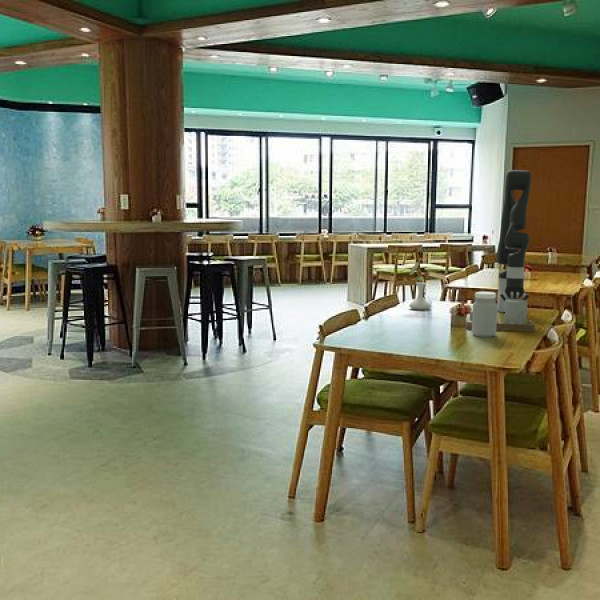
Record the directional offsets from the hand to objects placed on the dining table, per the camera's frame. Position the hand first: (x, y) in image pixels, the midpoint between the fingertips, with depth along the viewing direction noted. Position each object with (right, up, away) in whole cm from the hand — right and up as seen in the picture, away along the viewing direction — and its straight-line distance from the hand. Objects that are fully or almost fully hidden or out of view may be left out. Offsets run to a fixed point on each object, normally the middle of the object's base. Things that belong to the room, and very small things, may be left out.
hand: (513, 314), depth 295 cm
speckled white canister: (-2, -6, -7) cm, 10 cm away
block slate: (-14, -3, +14) cm, 20 cm away
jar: (-20, -8, -23) cm, 32 cm away
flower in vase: (-35, +2, +43) cm, 56 cm away
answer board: (-9, -6, -7) cm, 13 cm away
